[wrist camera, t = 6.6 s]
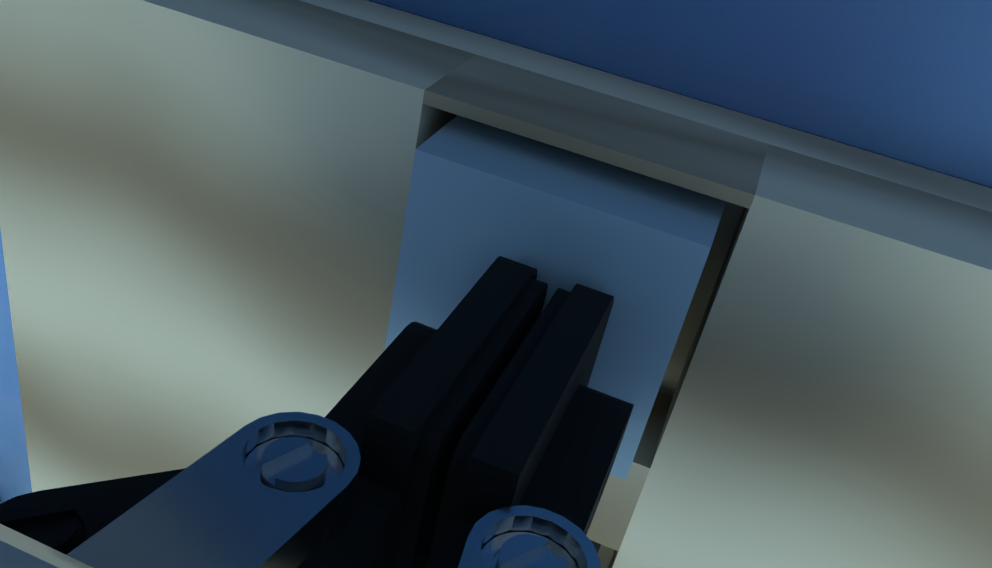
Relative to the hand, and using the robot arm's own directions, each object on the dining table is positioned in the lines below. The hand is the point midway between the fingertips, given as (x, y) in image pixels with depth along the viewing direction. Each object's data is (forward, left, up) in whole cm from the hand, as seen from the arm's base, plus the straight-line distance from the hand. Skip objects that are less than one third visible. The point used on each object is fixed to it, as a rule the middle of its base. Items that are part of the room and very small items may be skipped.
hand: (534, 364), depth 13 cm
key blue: (0, 0, -2) cm, 2 cm away
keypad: (+6, 0, -4) cm, 7 cm away
